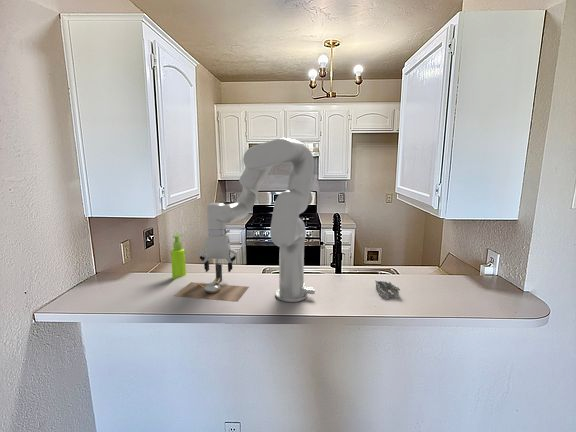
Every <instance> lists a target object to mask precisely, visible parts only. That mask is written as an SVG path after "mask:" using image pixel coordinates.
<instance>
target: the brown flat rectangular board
mask: <svg viewBox="0 0 576 432" xmlns="http://www.w3.org/2000/svg"><path fill="white" fill-rule="evenodd" d="M206 284H208V283H205V282H189V284H187V285H186V286H185V287H182V288H181V289H180V290H178V292H177V293H175V294H174V295H173V297H181V298H191V299H204V300H216V301H223V302H224V301H225V302H237V303H238V302H239V300H240V299H242V297H243V296H244V295H245V293H246V292H247V291H248V290H249V288H250V286H245V285H244V286H243V285H230V284H220V291H219V292H217V293H213V294H209V293H206V292H205V285H206Z"/></svg>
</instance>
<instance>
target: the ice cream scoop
mask: <svg viewBox="0 0 576 432" xmlns="http://www.w3.org/2000/svg"><path fill="white" fill-rule="evenodd" d="M214 266H215V278H214V280H213V282H209V283H207V284H206V285H205V292H206V293H209V294H213V293H217V292H219V291H220V285H221V284H220V282H222V281H223V269H222V267H223V264H222V262H219V263H218V262H217V263H215V265H214Z"/></svg>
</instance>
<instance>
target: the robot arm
mask: <svg viewBox="0 0 576 432" xmlns="http://www.w3.org/2000/svg"><path fill="white" fill-rule="evenodd" d="M242 162H243V164H244V166H245V168H244V170H243V172H242V174H241V175H240V177H239V183H240V185H241V186H242V191H241V193H240V195H239V197H238V199H237V200H236V201H235V202H232V203H228V204H225V203H223V202H210V203H208V204H207V205H206V213H207V214H206V217H207V235H206V238H205V246H204V247H205V248H203V249H201V250H199V251H198V252H197V255H198V257H199V259H200V260H201V261H202V262H203V264H204V265H203V267H204V270H205V272H206V273H208V272H209V270H210V261H209V260H226V261H228V263H227V271H228V273H231V271H232V270H233V262H234V261H235V260H236V259H237V256H238V255H239V251H237V250H235V249H234V248H231V242H230V241H231V240H230V236H229V233H231V231H230V229H229V228H227V224H228V223H229V224H232V223H235V222H238V221H240V220H243V219H245V218H246V217H247V216H248V215H249V214H250V212H251V211H252V209H253V207H254V206H255V204H256V202H257V198H258V194H259V189H260V188H261V186H262V185H263V183H264V181H265V179H266V178H267V176H268V175H269V173H270V171H271V169H272V168H273V167H274V166H278V165H281V164H291V170H290V173H289V175H288V182H287V187H286V190H284V191H282V192H281V193H279V194H278V196H277V197H276V199H275V201H274V204H273V211H272V216H271V221H270V229H269V233H270V235H269V236H270V239H271V241H272V243H274V245H275V246H277V247H278V248H279V250H278V251H279V257H278V258H279V259H278V262H279V263H278V265H279V266H278V267H279V271H278V273H279V277H278V278H279V282H278V283H279V285H278V287H279V288H278V289H277V290H276V291H275V297H276V298H277V299H278V300H279V301H281V302H285V303H298V302H302V301H304V300H306V299H307V297H308V294H309V295H315V292H316V289H314V288H313V287H312V286H306V283H305V282H304V281H305V279H304V274H305V273H304V271H305V259H304V258H305V241H306V232H307V231H306V230H307V229H306V225H305V222H304V220H303V219H302V218H300V215H301V214H302V213H304V212H305V211H306V210H307V209H308V206H309V199H310V194H311V193H310V192H311V188H312V180H313V176H314V175H313V174H314V170H315V160H314V155H313V153H312V151H311V150H310V149H309V147H308V146H307V145H306V144H305V143H303V142H301V141H299V140H296V139H292V138H286V137H282V138H281V137H280V138H279V137H278V138H275V139H272V140H270V141H267V142H266V141H265V142H263V143H259V144H256V145H253V146H250V147H249V148H248V149H246V150H245V152H244V154H243V161H242ZM203 254H205V255H203ZM231 254H233V256H231Z"/></svg>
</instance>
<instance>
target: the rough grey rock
mask: <svg viewBox="0 0 576 432" xmlns="http://www.w3.org/2000/svg"><path fill="white" fill-rule="evenodd" d="M389 288H391V289H389ZM375 290H376V291H378V293H377V294H379V293H381V294H380V297H381V296H382V297H381V298H384V297H385V298H384V299H389V298H393V297H394V298H393V299H398V298H399V296H400V292H399V291H401V289H400V287H398V286H396V285H395V284H392V282H391V281H389V282H387V281H381V280H379V281H378V280H375ZM389 290H390V291H389ZM391 291H392V292H391ZM388 297H389V298H388Z"/></svg>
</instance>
